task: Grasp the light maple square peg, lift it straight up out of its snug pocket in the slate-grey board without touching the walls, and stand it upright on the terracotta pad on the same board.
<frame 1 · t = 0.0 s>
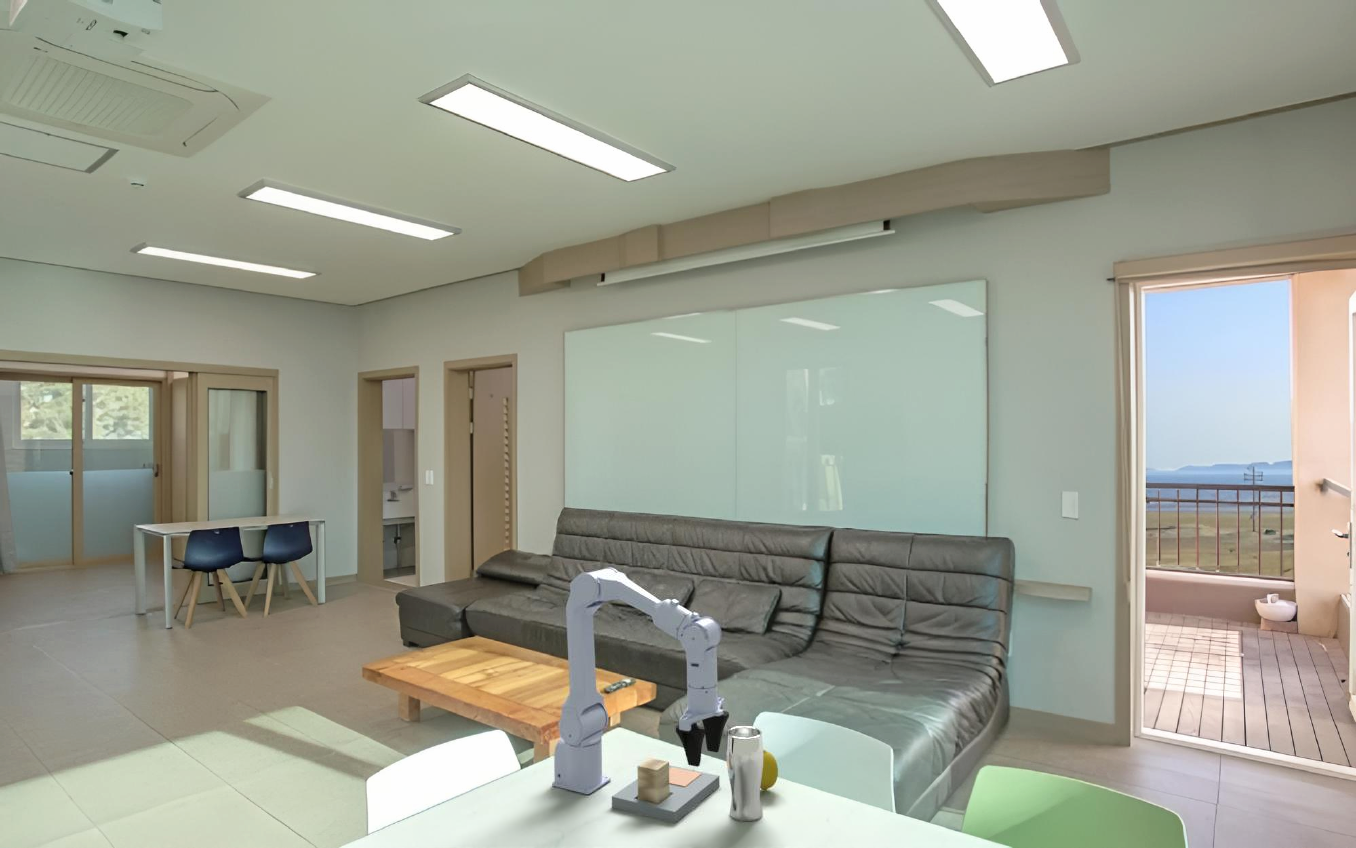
hand: (703, 758, 142), 10 cm above the table, fingers open, 7 cm apart
pocket board: (667, 796, 149), on the table
peg: (654, 806, 145), resting in pocket board
beer glass: (746, 815, 141), on the table
lemon: (764, 792, 151), on the table
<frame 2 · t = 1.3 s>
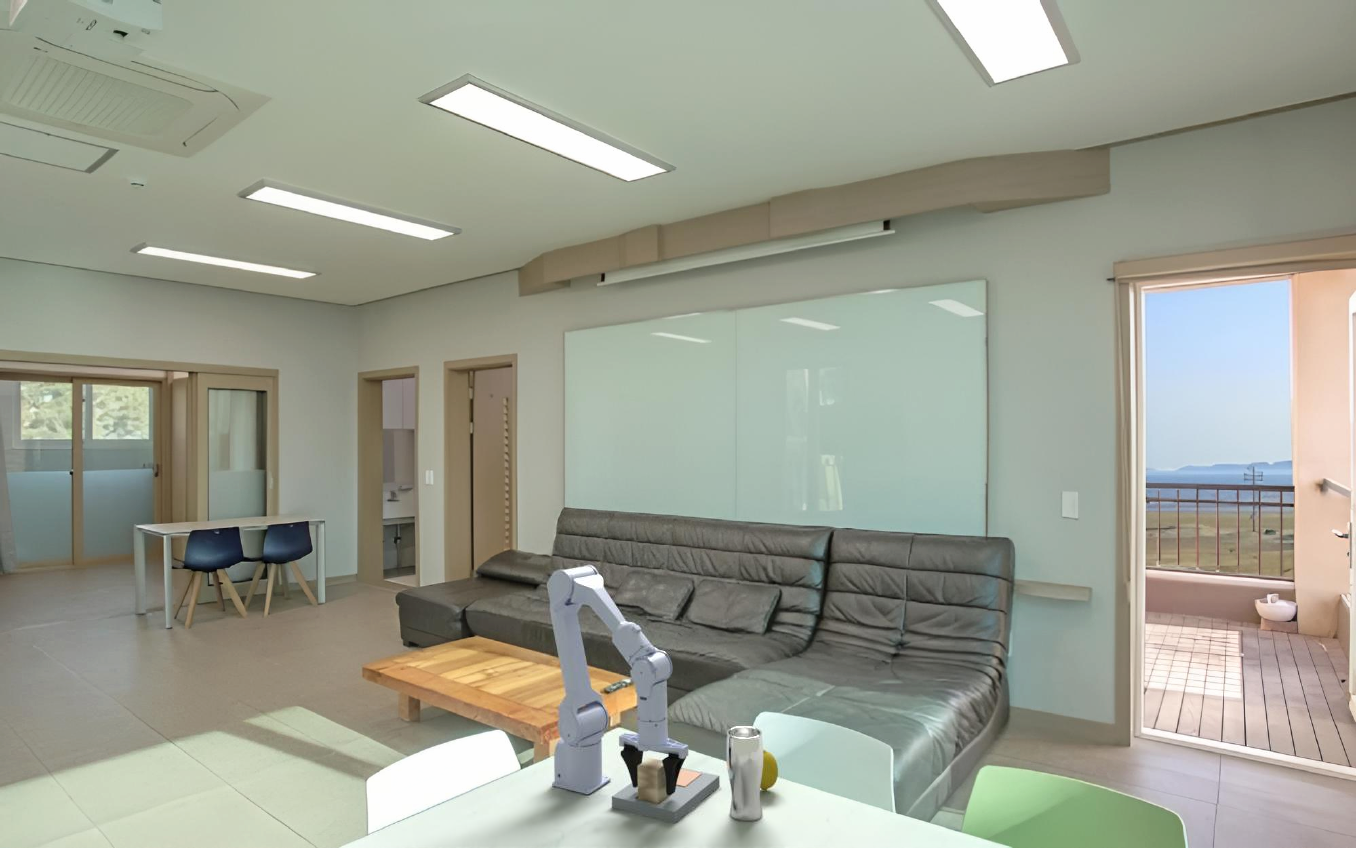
hand: (653, 789, 145), 3 cm above the table, fingers open, 7 cm apart
nothing on the table moved.
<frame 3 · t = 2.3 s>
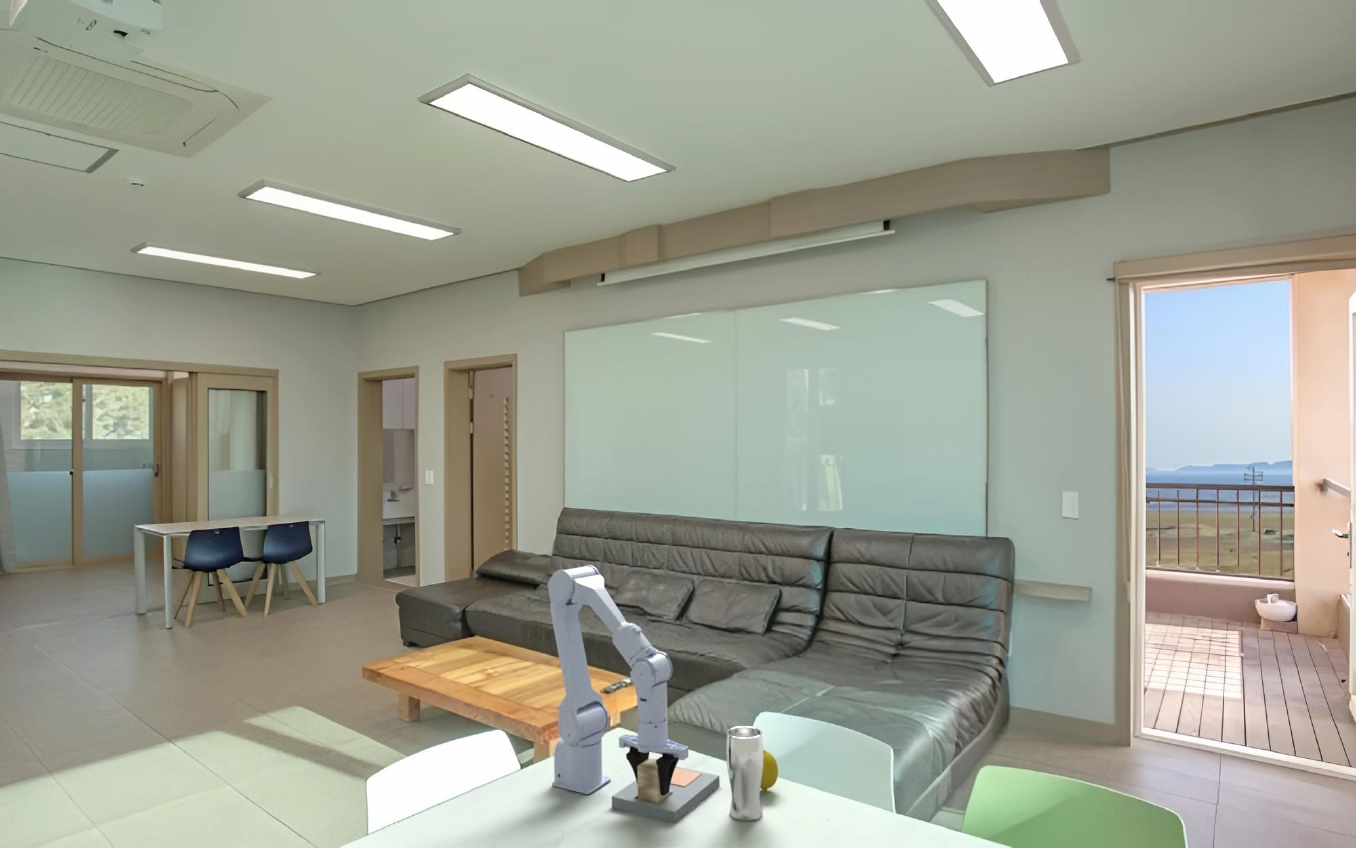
hand: (653, 791, 145), 3 cm above the table, fingers closed on peg, 4 cm apart
peg: (653, 806, 145), resting in pocket board, touching gripper
everything else where it was.
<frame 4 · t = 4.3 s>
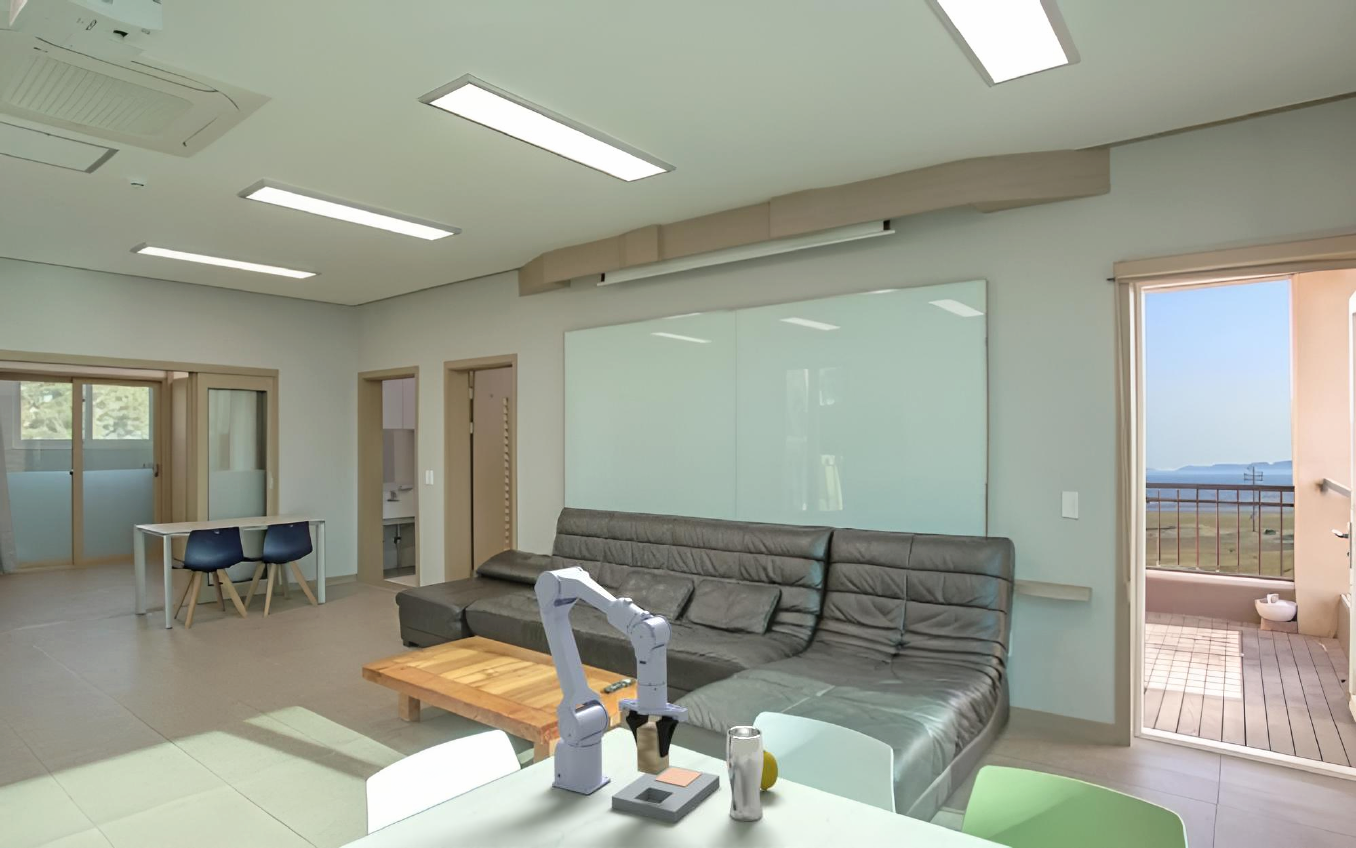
hand: (653, 753, 145), 10 cm above the table, fingers closed on peg, 4 cm apart
peg: (653, 769, 145), point 7 cm above the table, touching gripper
everything else where it was.
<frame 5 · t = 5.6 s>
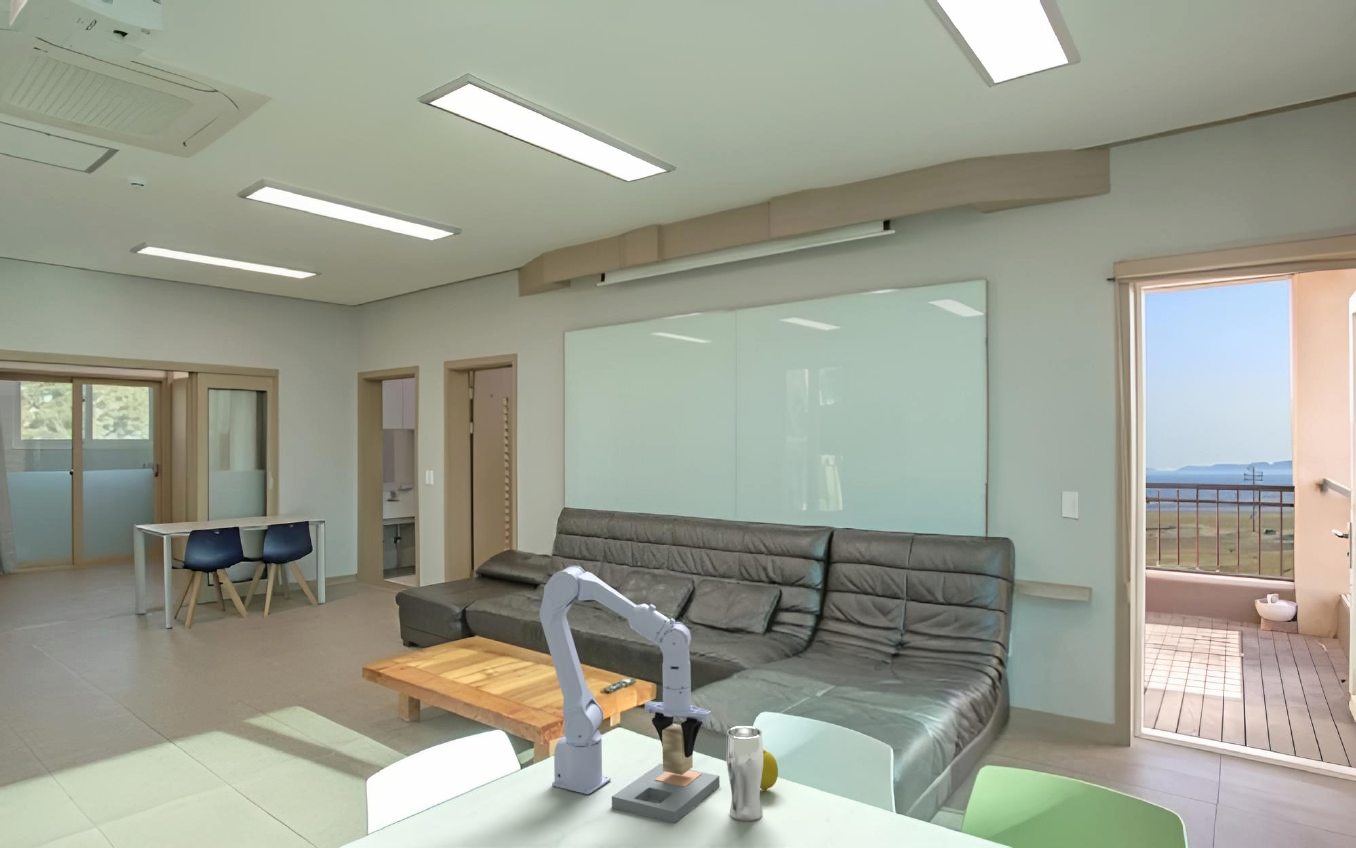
hand: (678, 753, 153), 7 cm above the table, fingers closed on peg, 4 cm apart
peg: (677, 769, 153), point 4 cm above the table, touching gripper
everything else where it was.
when the fingers open (6 cm above the table, at t = 6.6 s): peg stays where it is, resting on pocket board.
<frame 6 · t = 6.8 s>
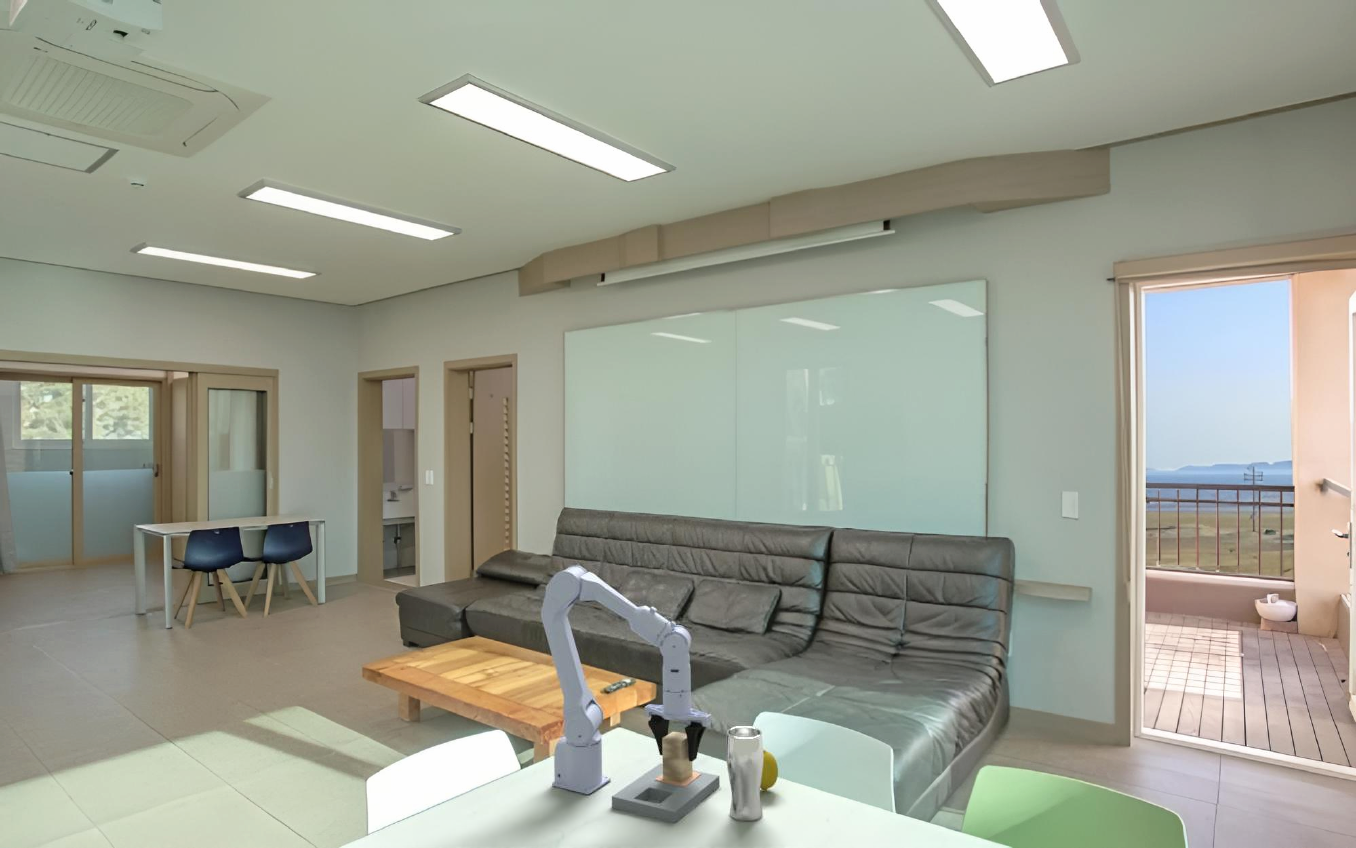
hand: (678, 756, 153), 6 cm above the table, fingers open, 6 cm apart
peg: (677, 776, 153), point 2 cm above the table, touching pocket board
everything else where it was.
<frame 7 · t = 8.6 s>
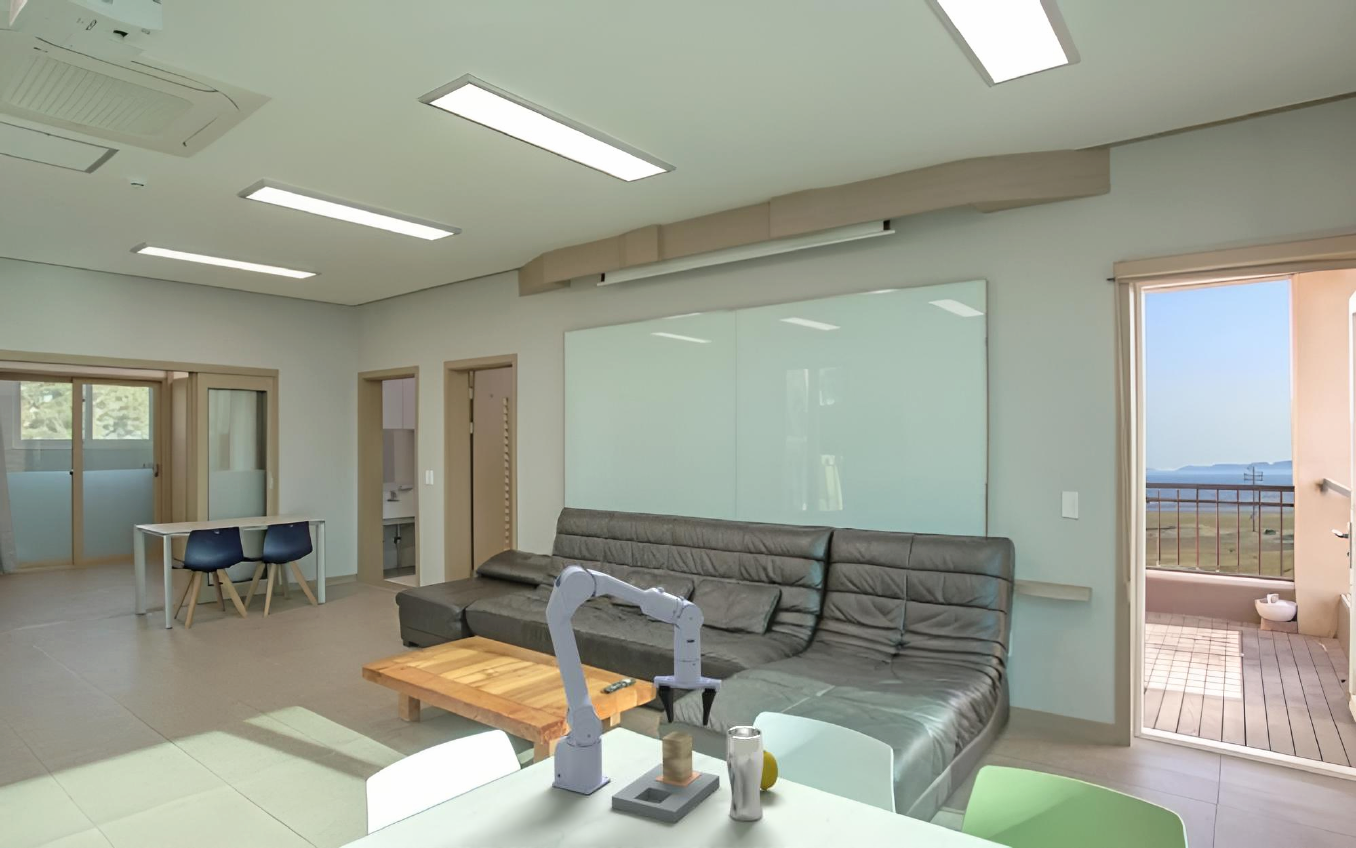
hand: (688, 723, 162), 10 cm above the table, fingers open, 7 cm apart
nothing on the table moved.
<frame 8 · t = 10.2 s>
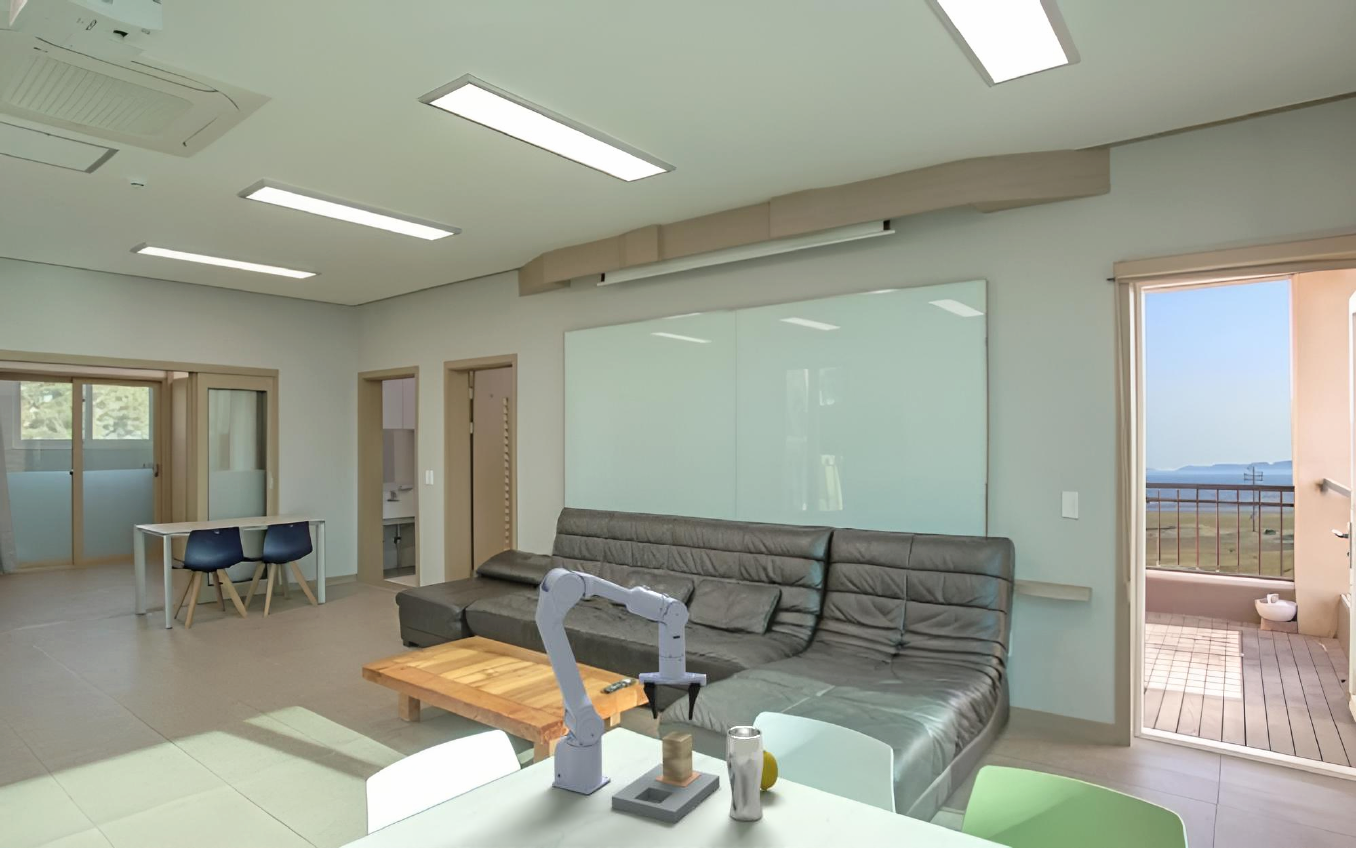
hand: (673, 718, 164), 10 cm above the table, fingers open, 7 cm apart
nothing on the table moved.
at the end: peg 0.2 cm from the target spot on the pocket board, point 2.2 cm above the pocket board's base; peg tilted 0°; the gripper is holding nothing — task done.
